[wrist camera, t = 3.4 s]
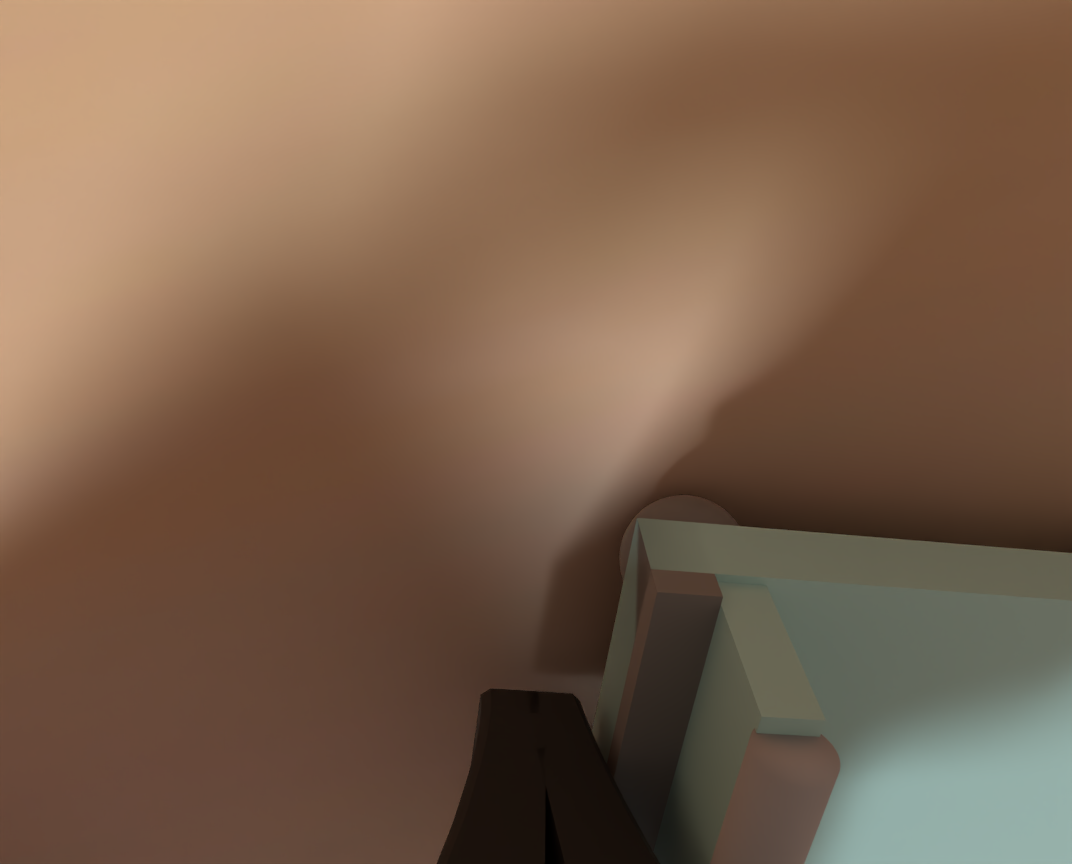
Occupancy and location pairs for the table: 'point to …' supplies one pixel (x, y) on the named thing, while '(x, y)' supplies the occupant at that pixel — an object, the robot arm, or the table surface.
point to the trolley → (837, 695)
